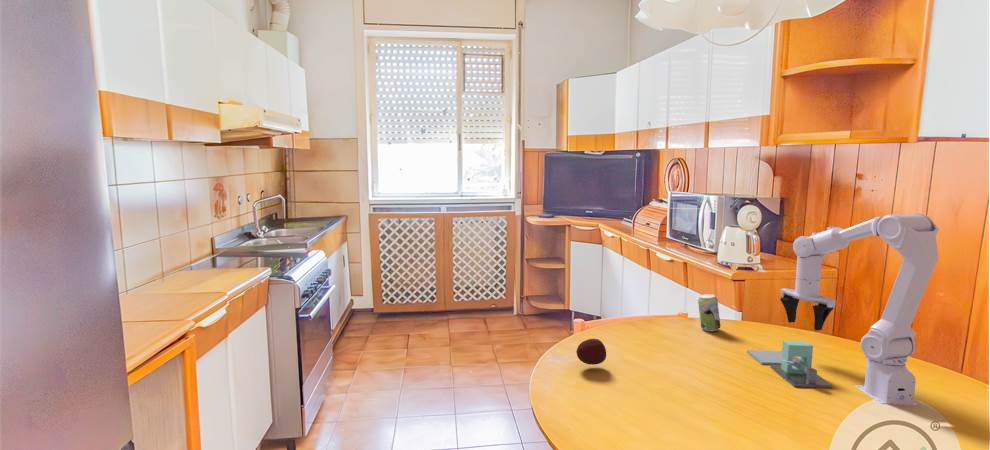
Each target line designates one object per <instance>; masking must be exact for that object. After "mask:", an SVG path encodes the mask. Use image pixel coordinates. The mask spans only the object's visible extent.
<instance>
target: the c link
mask: <svg viewBox="0 0 990 450" xmlns="http://www.w3.org/2000/svg"><path fill="white" fill-rule="evenodd" d="M781 351H782V357H783V358H784V359H786V360H787V361H786V360H782V361H781V369H782V370H784V371H785V372H786V373H798V374H806V373H807V372H805V371H804V370H803V369H801V368H800V367H799V366H797V365H792V364H790V363H789V362H788V361H793V356H796V357H798V358H799V359H800V360H801V361H803V362H804V363H806V364H807V365H808V366H810V367H811V368H812V366H813V365H812V364H813V351H814V345H812V344H811V343H809V342H807V341H798V340H797V341H793V340H789V341H788V340H782V350H781Z"/></svg>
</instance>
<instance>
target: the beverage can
mask: <svg viewBox="0 0 990 450" xmlns="http://www.w3.org/2000/svg"><path fill="white" fill-rule="evenodd" d="M697 303H698V304H697V305H698V313H699V321H700V327H701V329H702V330H704V331H706V332H715V331H718V330H719V329H721V319H720V311H719V310H720V309H719V302H718V298H717V297H716V295H715V294H711V293H704V294H700V295H699V298H698V299H697Z"/></svg>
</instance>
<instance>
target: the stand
mask: <svg viewBox="0 0 990 450" xmlns="http://www.w3.org/2000/svg"><path fill="white" fill-rule="evenodd" d="M792 362H793V363H795V364H796V365H797V366H799V367H800V368H801V369H803V370H804V371H805V372H807V373H806V374H798V373H786V372H785V371H784V370H782V369H781V365H770V368H771V370H773V372H775V373H777V374H778V375H779V376H780V377H781V378H782V379H784V380H785V381H786V382H788V383H789V384H790V385H791V386H792V387H794V388H811V389H813V388H815V389H833V384H831V383H830V382H829V381H828V380H826V379H824V378H823V377H822V376H820V375H819V374H818V369H815V368H812V366H811V367H810V366H808V365H807V364H806V363H804V362H803V361H801V360H800V357H798V358H797V356H793V361H792Z"/></svg>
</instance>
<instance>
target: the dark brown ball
mask: <svg viewBox="0 0 990 450" xmlns="http://www.w3.org/2000/svg"><path fill="white" fill-rule="evenodd" d="M576 355H577V358H578V360H579V361H580V362H582V363H584V364H586V365H592V366H593V365H598V364H602V363H603V362H604V361H605V360H606V359H607V349H606V346H605V344H604V343H603V341H601V340H600V339H597V338H589V339H586V340H583V341H581V343H579V344H578V345H577V348H576Z"/></svg>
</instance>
